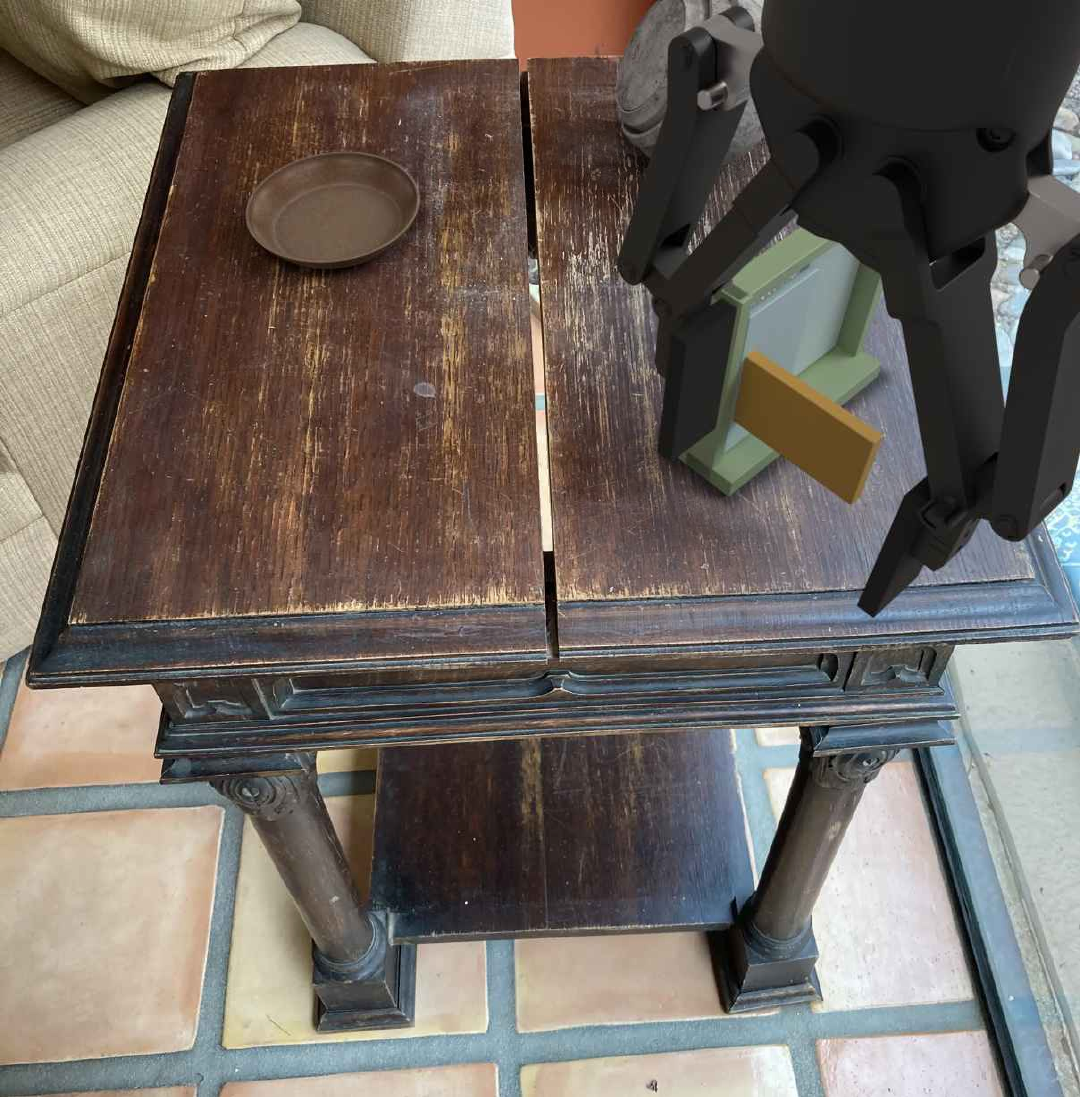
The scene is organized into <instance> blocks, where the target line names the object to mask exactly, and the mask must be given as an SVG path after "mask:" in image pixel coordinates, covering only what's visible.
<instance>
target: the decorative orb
mask: <svg viewBox="0 0 1080 1097" xmlns="http://www.w3.org/2000/svg"><path fill="white" fill-rule="evenodd" d="M734 5H736V6H742V7H743V8H745V9H746V10H747V11H748V12H749V13H750V15H751V16H752V19H753V21H754V24H755V33H758V34H761V35H762V33H761V16H762V9H763V6H761V5H760V4H759V3H758V2H757V1H756V0H657V1H656V2H655V3H654V4H653V5H652V6H651V7H650V8H649V9H648V10H647V12H646V13H645V15H643V18H642V19H641V20H640V21H639V23H638V25H637V26H636V28H635V30H634V31H633V34H632V35H631V37H630V39H629V41H628V44H627V45H626V47H625V50H624V53H623V55H622V58H621V60H620V65H619V68H618V72H617V76H616V82H615V101H616V105H617V112H618V113H617V114H618V121H619V123H620V124H621V125H620V129H621V130H622V132H623V133H624V135H625V137H626V138H627V140H628V141H629V142H630V144H632V145H633V146H634V147H637V148H639V150H640V151H641V152H642V153H643V154H644V155H646V156H647V157H648V158H649V159H650V158H651V155H652V152H653V149H654V146H655V143H656V140H657V137H658V134H659V131H660V128H661V125H662V121H663V118H664V115H665V112H666V109H667V59H668V46H669V43H670V42H671V40H672V39H673V38H675V37H677V36H678V35H680V34H682V33H684V32H686V31H688V30H690V29H691V28H693V27H694V26H696V25H698V24H700V23H702V22H704V21H706V20H707V19H709V18H711V17H713V16H715V15H717V14H719V13H721V12H723V11H725V10H727V9H729V8H730V7H732V6H734ZM764 137H765V136H764V133H763V130H762V127H761V124H760V121H759V118H758V115H757V112H756V109H755V106H754V103H753V100H752V97H751V98H749V99H748V101H747V104H746V107H745V110H744V113H743V115H742V118H741V120H740V123H739V125H738V127H737V130H736V132H735V135H734V137H733V140H732V142H731V144H730V147H729V149H728V152H727V154H726V157H725V159H724V161H723V164H722V166H721V168H722V167H725V166H727V165H729V164H731V163H734V162H735V161H737V160H738V159H741V158H742V157H743V156H745V155H747V153H749V152H750V151H751V150H752V149H753V148H755V146H757V144H758V143H759V142H760V141H761V140H762V139H763V138H764Z"/></svg>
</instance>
